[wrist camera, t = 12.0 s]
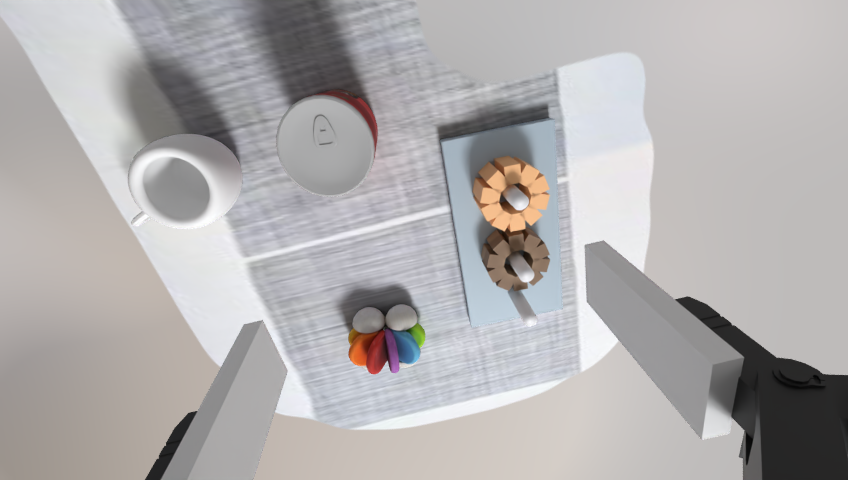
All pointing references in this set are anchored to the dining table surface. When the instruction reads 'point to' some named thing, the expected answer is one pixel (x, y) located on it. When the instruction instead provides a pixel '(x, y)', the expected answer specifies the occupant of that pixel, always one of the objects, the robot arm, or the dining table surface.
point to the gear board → (472, 229)
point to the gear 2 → (504, 246)
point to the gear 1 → (498, 180)
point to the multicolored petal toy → (385, 339)
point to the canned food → (328, 142)
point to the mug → (184, 181)
